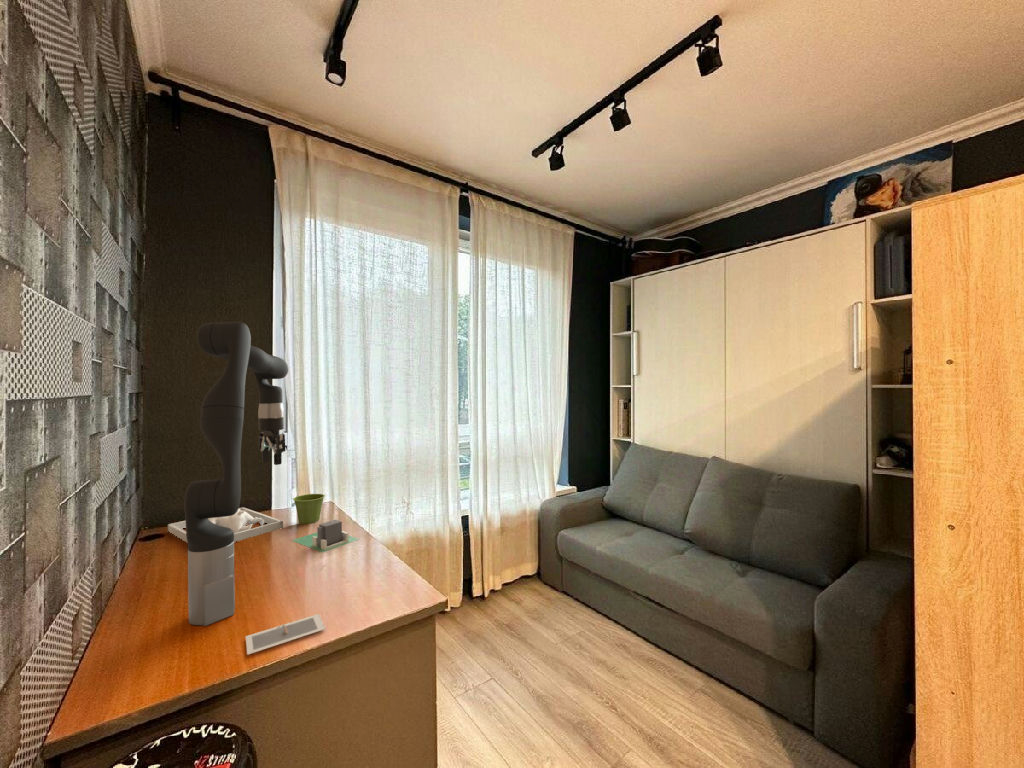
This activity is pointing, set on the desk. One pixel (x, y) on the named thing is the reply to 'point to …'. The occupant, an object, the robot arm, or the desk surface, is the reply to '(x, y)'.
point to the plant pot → (309, 507)
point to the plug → (330, 532)
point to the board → (323, 541)
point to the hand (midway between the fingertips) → (271, 463)
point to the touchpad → (283, 633)
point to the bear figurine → (237, 521)
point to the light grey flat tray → (271, 526)
